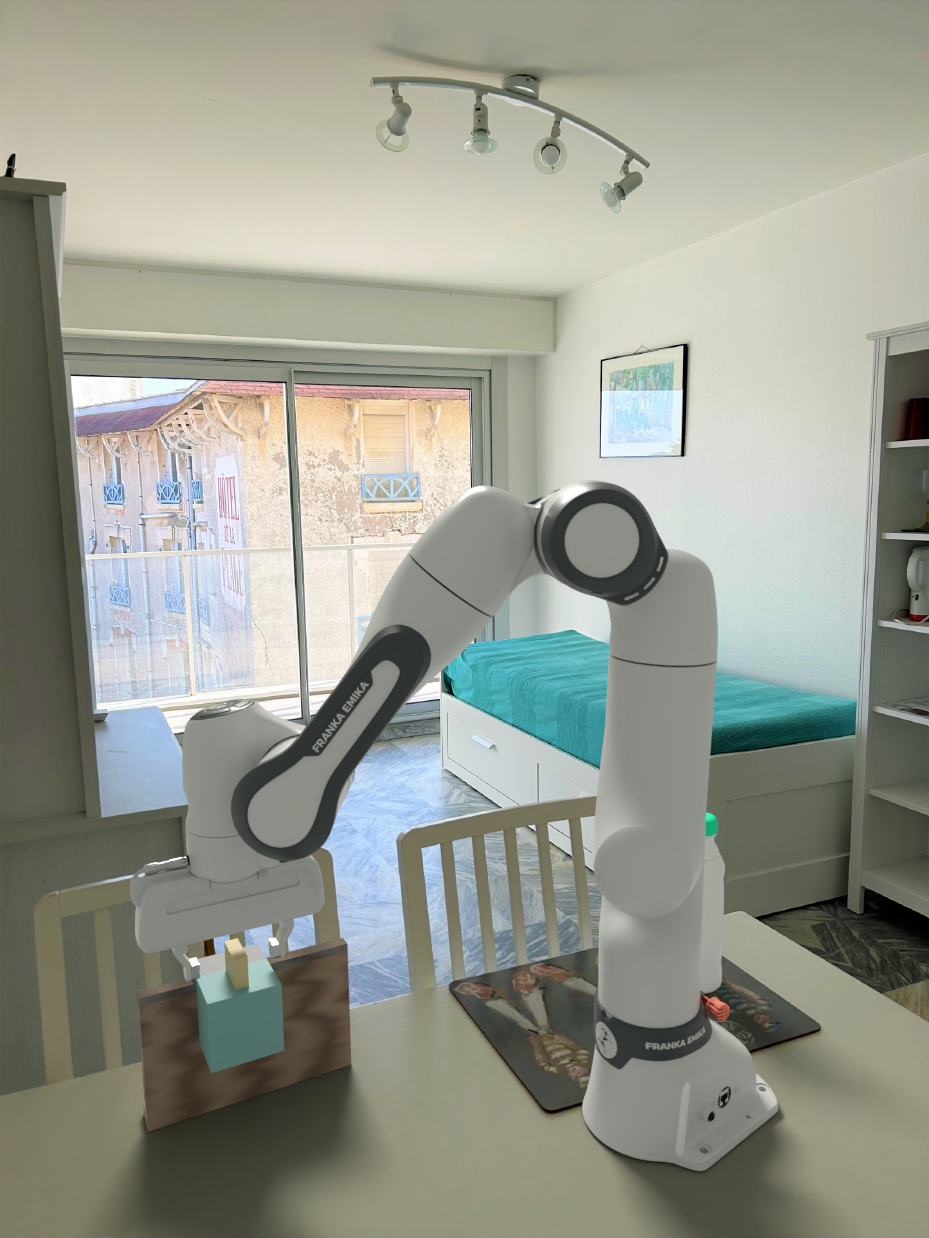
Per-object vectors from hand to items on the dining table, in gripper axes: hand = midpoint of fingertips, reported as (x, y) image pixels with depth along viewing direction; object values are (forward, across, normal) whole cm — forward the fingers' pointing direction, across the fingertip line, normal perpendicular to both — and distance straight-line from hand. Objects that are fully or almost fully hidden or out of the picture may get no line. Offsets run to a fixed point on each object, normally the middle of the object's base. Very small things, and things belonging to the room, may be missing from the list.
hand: (235, 966), depth 98 cm
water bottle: (+18, +64, -4) cm, 67 cm away
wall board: (+18, +2, +3) cm, 18 cm away
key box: (+9, 0, +1) cm, 9 cm away
